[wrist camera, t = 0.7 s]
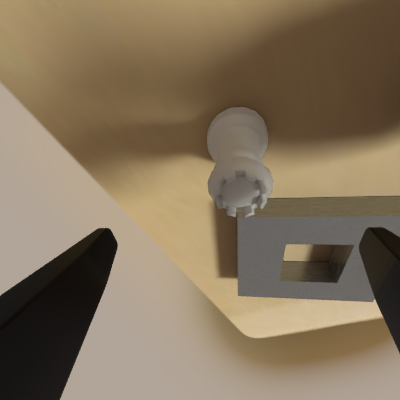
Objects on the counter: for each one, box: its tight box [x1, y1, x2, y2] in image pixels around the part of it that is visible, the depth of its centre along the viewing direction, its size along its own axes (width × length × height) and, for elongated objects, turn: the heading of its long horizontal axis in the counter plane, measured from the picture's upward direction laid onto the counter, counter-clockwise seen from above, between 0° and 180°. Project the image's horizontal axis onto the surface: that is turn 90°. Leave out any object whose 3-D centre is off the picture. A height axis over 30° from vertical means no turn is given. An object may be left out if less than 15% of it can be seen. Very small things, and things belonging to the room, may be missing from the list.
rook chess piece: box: [207, 107, 273, 218], centre depth 14 cm, size 4×4×8 cm
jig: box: [237, 196, 400, 302], centre depth 22 cm, size 14×12×2 cm
